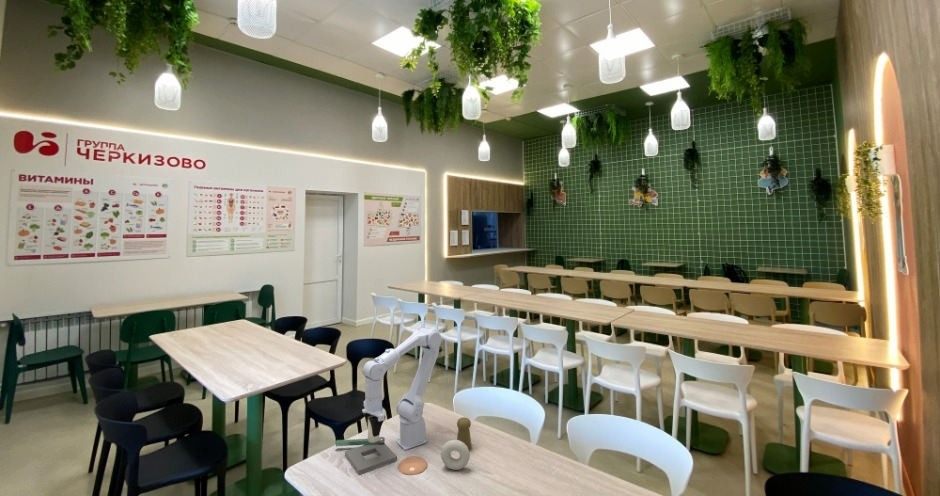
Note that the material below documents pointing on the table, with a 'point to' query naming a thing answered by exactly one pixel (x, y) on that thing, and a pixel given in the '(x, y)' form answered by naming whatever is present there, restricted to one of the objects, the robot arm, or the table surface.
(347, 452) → the collar block
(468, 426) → the brown pawn
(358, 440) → the bar
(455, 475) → the table surface
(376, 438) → the plug
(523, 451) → the table surface
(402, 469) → the coaster
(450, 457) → the donut
